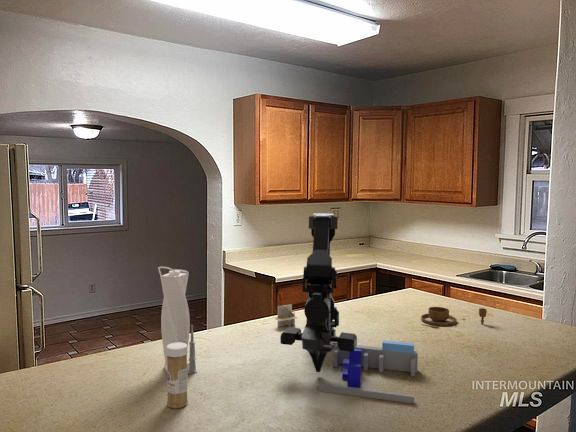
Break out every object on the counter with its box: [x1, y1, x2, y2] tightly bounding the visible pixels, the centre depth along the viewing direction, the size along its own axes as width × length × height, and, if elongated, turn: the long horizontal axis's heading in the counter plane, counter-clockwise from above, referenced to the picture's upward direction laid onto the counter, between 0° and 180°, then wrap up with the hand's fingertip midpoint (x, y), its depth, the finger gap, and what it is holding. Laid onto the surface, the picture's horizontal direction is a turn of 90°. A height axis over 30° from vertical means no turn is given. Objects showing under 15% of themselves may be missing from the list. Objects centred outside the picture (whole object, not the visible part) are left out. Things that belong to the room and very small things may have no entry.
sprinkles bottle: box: [166, 342, 189, 409], centre depth 106 cm, size 5×5×13 cm
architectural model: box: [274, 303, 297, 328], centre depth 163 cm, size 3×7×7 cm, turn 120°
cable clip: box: [341, 349, 362, 388], centre depth 120 cm, size 12×4×6 cm, turn 171°
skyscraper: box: [157, 266, 198, 376], centre depth 125 cm, size 8×8×28 cm
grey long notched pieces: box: [317, 340, 419, 404], centre depth 120 cm, size 22×20×7 cm
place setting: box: [420, 306, 488, 329], centre depth 167 cm, size 18×20×6 cm
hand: (318, 371), depth 122 cm, fingers closed
